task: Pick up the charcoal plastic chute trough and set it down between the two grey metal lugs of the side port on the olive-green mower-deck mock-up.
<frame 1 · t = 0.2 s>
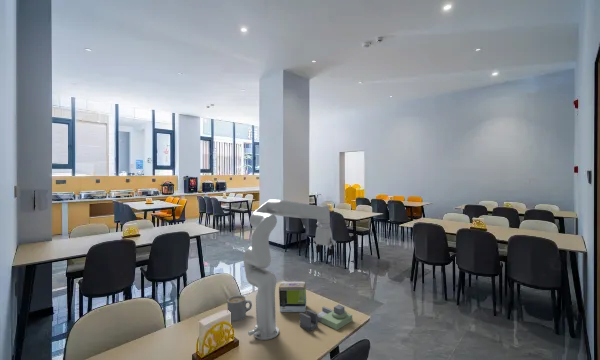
hand: (324, 253, 170), 31 cm above the table, fingers open, 9 cm apart
deck: (337, 321, 149), on the table
tea box: (293, 309, 166), on the table
chute: (308, 326, 145), on the table
coffee mug: (240, 316, 158), on the table
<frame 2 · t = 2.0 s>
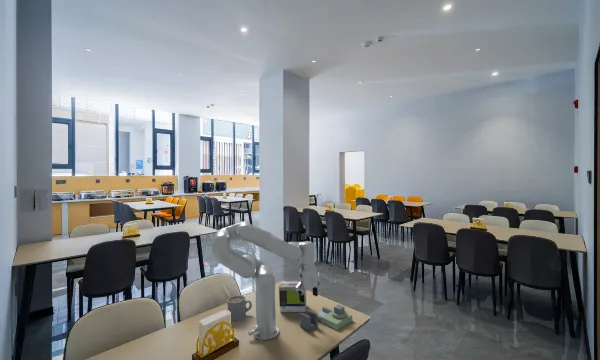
hand: (308, 298, 145), 15 cm above the table, fingers open, 9 cm apart
nothing on the table moved.
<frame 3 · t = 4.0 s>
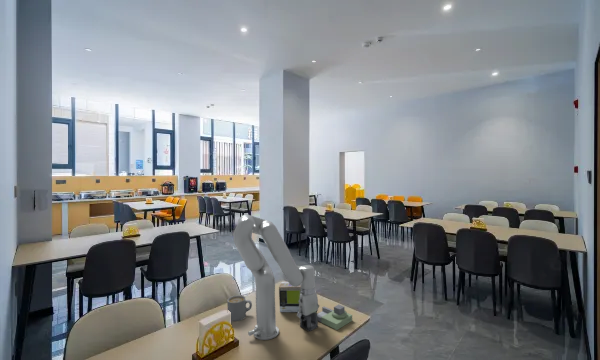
hand: (308, 324, 145), 1 cm above the table, fingers closed on chute, 6 cm apart
chute: (308, 326, 145), on the table, touching gripper
everything else where it was.
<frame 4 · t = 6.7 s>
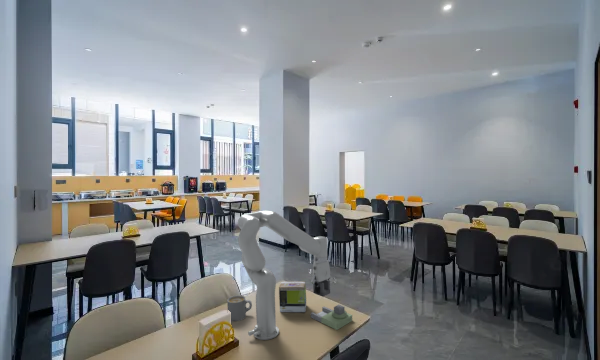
hand: (321, 291, 156), 14 cm above the table, fingers closed on chute, 6 cm apart
chute: (321, 293, 156), point 13 cm above the table, touching gripper
everything else where it was.
when the fingers open (4 cm above the table, at t = 9.3 s): chute drops 2 cm, resting on deck.
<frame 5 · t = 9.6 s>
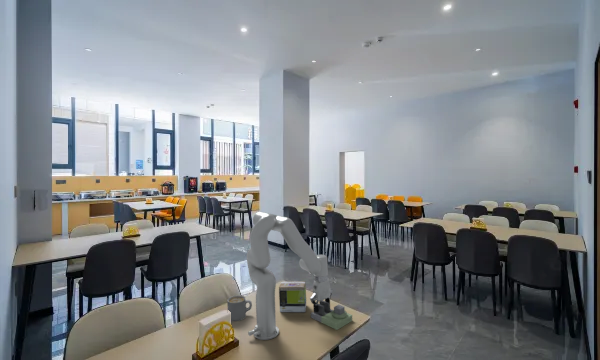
hand: (321, 308, 156), 4 cm above the table, fingers open, 9 cm apart
chute: (322, 315, 156), resting on deck
everything else where it was.
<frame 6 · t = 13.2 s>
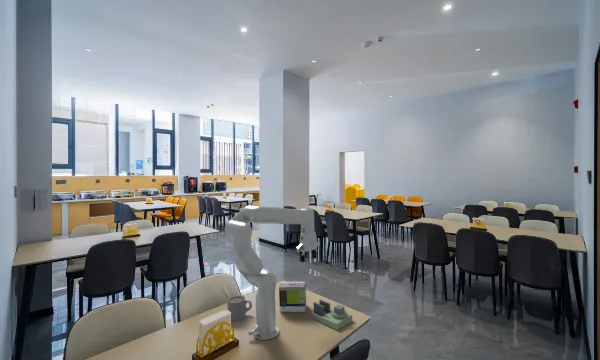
hand: (308, 260, 160), 30 cm above the table, fingers open, 9 cm apart
nothing on the table moved.
at the end: chute 0.1 cm from the target spot on the deck, point 0.3 cm above the deck's base; chute tilted 0°; the gripper is holding nothing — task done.
